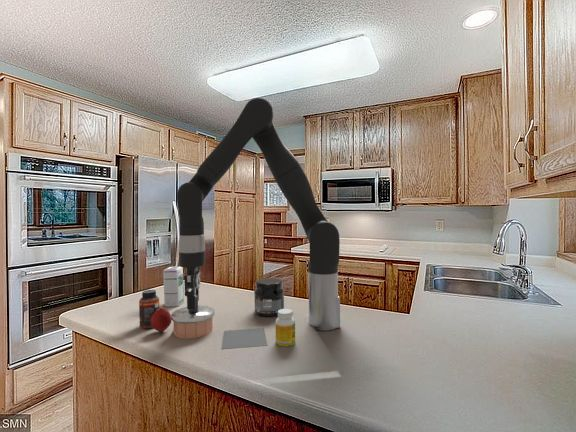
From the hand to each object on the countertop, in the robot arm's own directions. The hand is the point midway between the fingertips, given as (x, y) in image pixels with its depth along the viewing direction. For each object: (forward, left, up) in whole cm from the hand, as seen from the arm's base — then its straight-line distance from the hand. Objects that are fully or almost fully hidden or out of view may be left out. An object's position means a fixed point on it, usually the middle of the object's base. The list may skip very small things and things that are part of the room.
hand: (193, 304), depth 91 cm
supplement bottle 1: (+15, -9, -9) cm, 20 cm away
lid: (0, 0, -3) cm, 3 cm away
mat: (-15, +8, -9) cm, 19 cm away
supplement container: (-24, -12, -9) cm, 28 cm away
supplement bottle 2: (-26, +13, -9) cm, 30 cm away
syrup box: (+12, -31, -9) cm, 34 cm away
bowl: (0, 0, -9) cm, 9 cm away
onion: (+10, -3, -9) cm, 14 cm away
